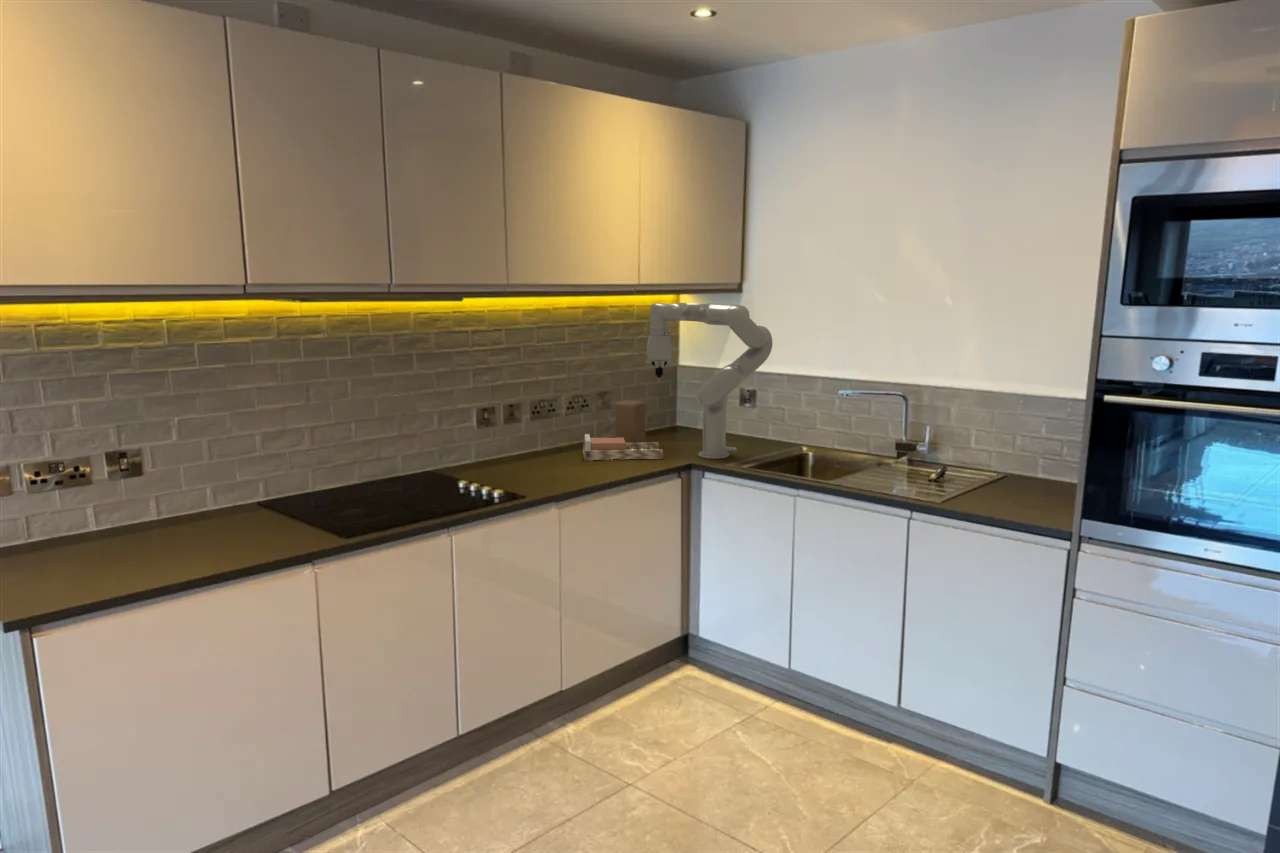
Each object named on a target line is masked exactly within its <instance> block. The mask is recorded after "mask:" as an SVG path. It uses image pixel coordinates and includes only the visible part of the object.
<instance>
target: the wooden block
mask: <svg viewBox="0 0 1280 853" xmlns="http://www.w3.org/2000/svg"><path fill="white" fill-rule="evenodd" d="M615 438H624V440H625V443H646V402H645V401H641V400H633V399H632V400H630V399H629V400H628V399H627V400H622V401H617V402H616V403H615Z"/></svg>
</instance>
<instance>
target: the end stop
mask: <svg viewBox="0 0 1280 853" xmlns="http://www.w3.org/2000/svg"><path fill="white" fill-rule="evenodd" d="M590 438H591V436H590V433H585V434H584V443H585V451H588V452H586V454H587V455H588V456H589V454H588V453H590V452H591V440H590ZM587 455H586V456H587Z"/></svg>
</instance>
